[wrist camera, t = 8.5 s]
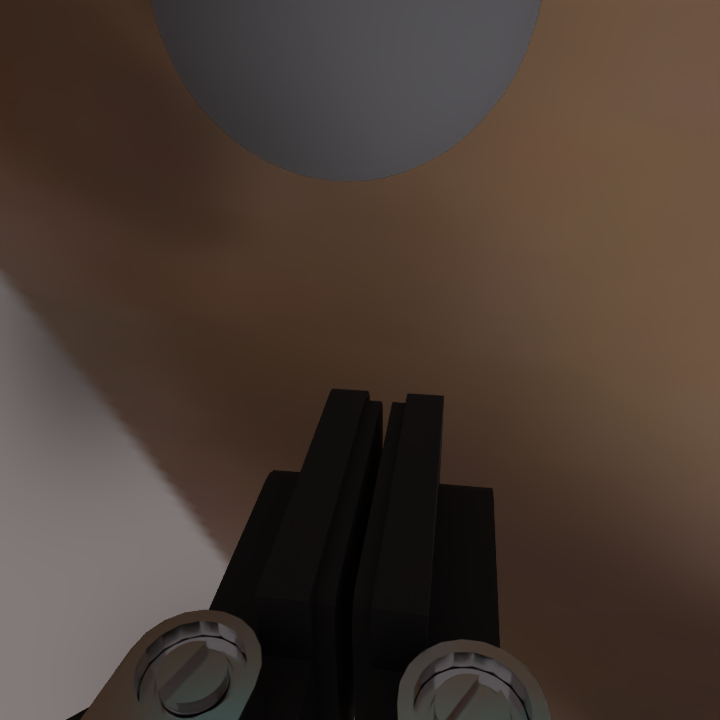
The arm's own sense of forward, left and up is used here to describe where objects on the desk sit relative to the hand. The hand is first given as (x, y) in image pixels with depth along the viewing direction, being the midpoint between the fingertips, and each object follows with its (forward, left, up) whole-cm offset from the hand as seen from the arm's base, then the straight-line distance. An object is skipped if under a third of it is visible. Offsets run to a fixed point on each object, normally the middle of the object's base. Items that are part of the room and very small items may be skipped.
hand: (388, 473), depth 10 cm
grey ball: (+7, +1, -3) cm, 7 cm away
